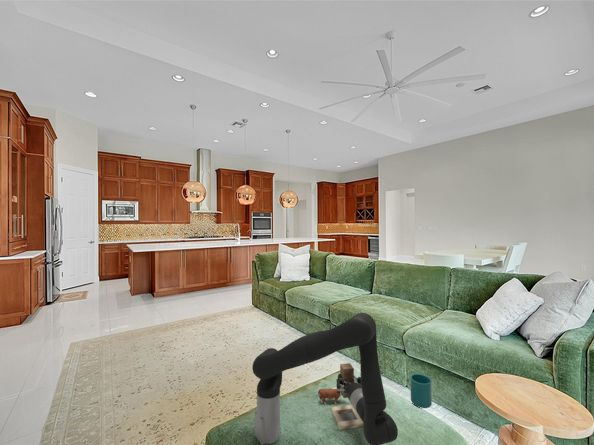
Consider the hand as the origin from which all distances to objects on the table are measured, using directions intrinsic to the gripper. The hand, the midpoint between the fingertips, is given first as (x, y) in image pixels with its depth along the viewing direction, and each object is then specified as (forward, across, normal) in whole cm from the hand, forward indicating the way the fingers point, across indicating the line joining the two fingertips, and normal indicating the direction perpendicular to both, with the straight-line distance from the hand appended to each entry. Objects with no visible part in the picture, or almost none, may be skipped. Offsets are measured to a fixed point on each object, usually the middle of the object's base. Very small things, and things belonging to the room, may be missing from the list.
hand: (344, 375), depth 122 cm
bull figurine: (+9, +3, +18) cm, 20 cm away
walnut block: (-3, 0, +7) cm, 7 cm away
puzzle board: (-3, -6, +18) cm, 19 cm away
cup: (+4, -39, +18) cm, 43 cm away
